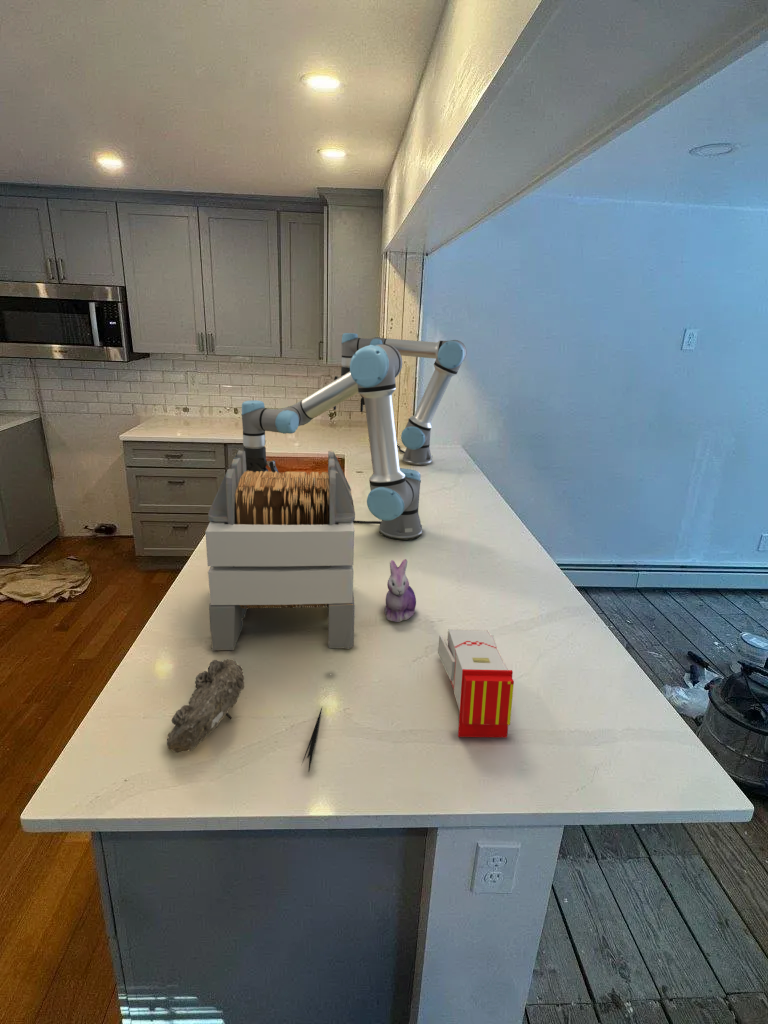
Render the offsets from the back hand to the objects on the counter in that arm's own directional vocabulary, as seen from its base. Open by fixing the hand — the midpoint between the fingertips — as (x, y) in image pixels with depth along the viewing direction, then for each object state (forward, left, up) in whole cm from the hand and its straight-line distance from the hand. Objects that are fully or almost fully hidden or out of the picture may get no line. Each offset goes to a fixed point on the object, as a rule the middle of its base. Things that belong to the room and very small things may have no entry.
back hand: (348, 410), depth 281 cm
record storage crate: (+153, -15, -26) cm, 156 cm away
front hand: (+88, -32, -19) cm, 95 cm away
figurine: (+152, +14, -26) cm, 155 cm away
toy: (+184, +26, -26) cm, 188 cm away
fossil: (+192, -25, -26) cm, 195 cm away
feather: (+192, -5, -26) cm, 194 cm away
